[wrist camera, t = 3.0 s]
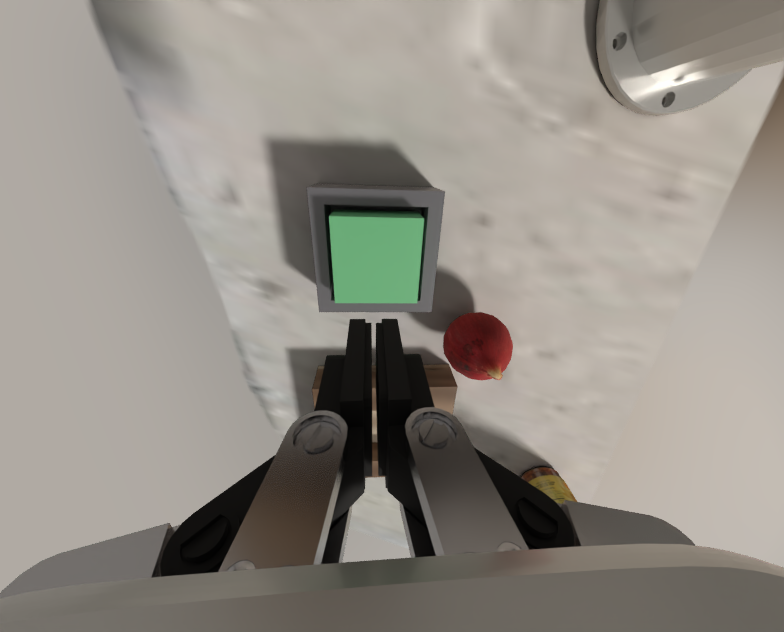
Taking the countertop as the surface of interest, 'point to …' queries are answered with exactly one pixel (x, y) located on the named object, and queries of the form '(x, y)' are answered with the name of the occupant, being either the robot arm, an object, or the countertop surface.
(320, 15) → the countertop surface
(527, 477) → the sauce bottle
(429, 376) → the open box
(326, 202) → the button housing
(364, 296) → the button
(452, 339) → the onion
